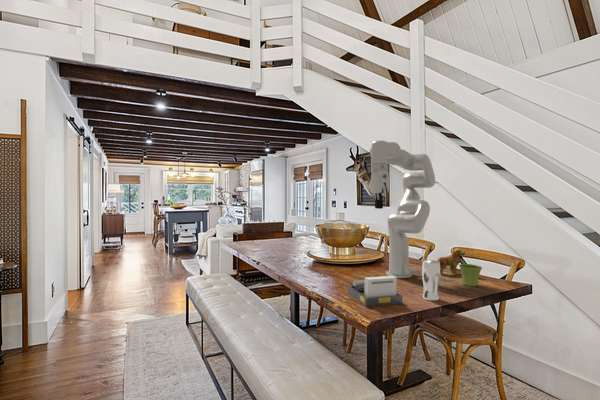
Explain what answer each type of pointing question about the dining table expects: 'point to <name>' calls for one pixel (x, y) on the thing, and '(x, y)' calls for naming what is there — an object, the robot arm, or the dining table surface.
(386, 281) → the panel
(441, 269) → the figurine
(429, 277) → the beer glass
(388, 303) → the tray
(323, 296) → the dining table surface
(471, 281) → the plant pot
